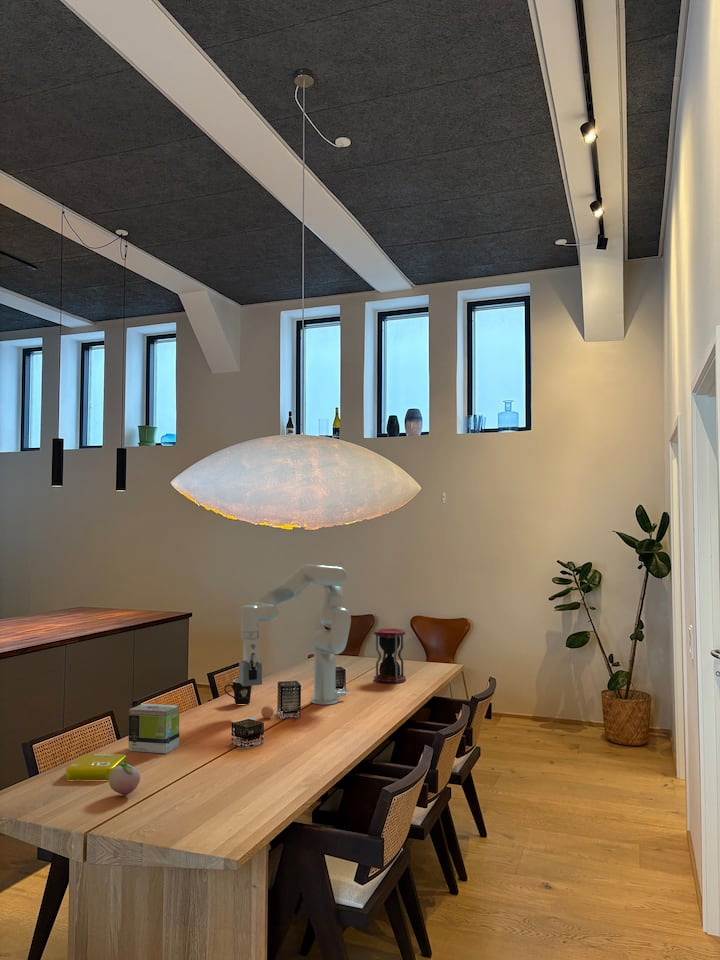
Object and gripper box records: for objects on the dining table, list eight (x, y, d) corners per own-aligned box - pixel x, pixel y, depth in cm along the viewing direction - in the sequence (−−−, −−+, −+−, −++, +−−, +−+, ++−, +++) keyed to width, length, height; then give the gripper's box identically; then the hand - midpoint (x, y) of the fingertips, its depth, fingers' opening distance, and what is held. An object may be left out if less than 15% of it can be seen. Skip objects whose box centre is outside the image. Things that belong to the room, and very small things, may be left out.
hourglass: (368, 678, 382) (368, 629, 384) (396, 676, 389) (396, 627, 390) (382, 685, 368) (382, 633, 369) (411, 682, 374) (411, 631, 376)
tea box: (180, 746, 270) (180, 704, 270) (165, 754, 260) (165, 711, 261) (142, 743, 274) (143, 702, 274) (127, 751, 264) (127, 708, 265)
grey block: (257, 680, 318) (257, 659, 318) (262, 684, 311) (261, 663, 311) (239, 682, 315) (239, 661, 316) (243, 686, 308) (243, 664, 308)
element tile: (127, 767, 248) (127, 752, 249) (111, 782, 233) (111, 767, 234) (82, 766, 249) (82, 752, 249) (63, 782, 234) (63, 766, 234)
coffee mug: (254, 701, 336) (254, 678, 336) (249, 706, 327) (249, 682, 328) (228, 700, 337) (228, 678, 337) (223, 705, 328) (223, 682, 329)
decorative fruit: (103, 795, 221) (103, 761, 222) (128, 788, 227) (129, 755, 228) (118, 804, 215) (118, 768, 215) (144, 796, 220) (144, 762, 221)
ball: (271, 716, 310) (271, 703, 311) (275, 719, 306) (275, 706, 306) (259, 717, 308) (259, 705, 309) (263, 720, 304) (263, 707, 304)
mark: (252, 716, 310) (252, 716, 310) (258, 722, 301) (258, 722, 301) (228, 719, 306) (228, 718, 306) (233, 725, 297) (233, 724, 297)
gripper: (264, 637, 307) (264, 680, 306) (254, 631, 323) (254, 672, 323) (245, 638, 304) (246, 682, 304) (236, 632, 321) (237, 674, 320)
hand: (250, 677), depth 313 cm, fingers closed on grey block, 7 cm apart
